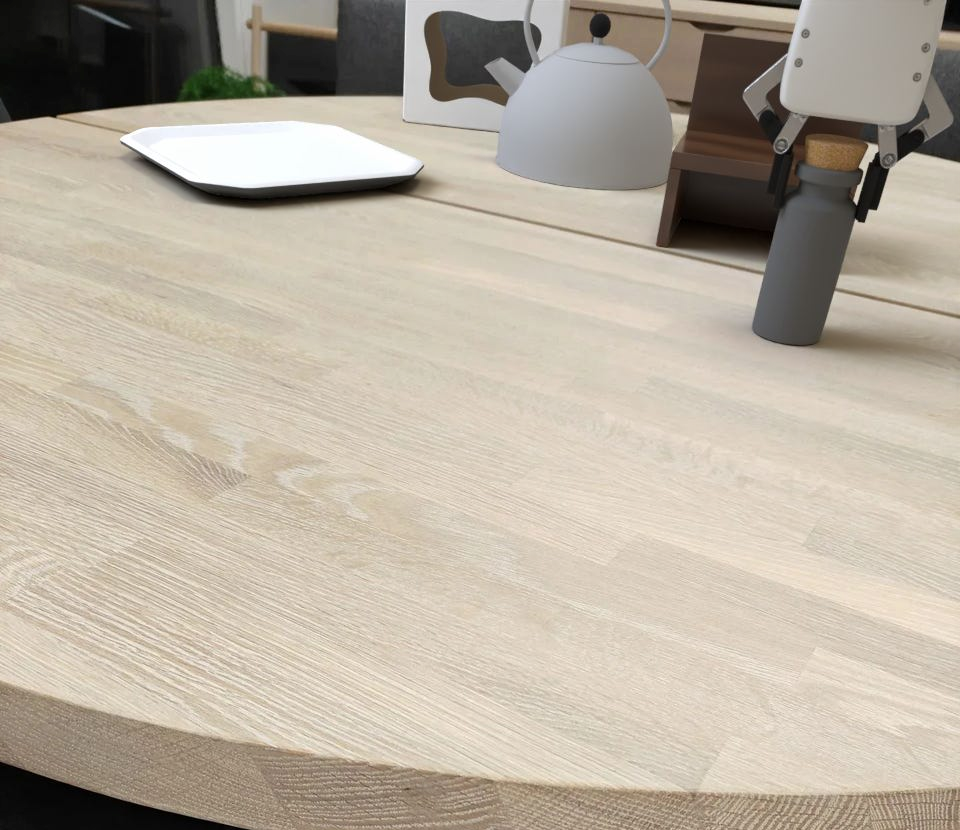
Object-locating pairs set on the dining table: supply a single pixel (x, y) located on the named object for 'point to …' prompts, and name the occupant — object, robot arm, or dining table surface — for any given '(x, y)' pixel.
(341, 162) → the plate
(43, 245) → the dining table surface
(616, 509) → the dining table surface
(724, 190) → the brown wooden stand
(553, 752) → the dining table surface
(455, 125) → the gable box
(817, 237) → the bottle
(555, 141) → the kettle
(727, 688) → the dining table surface
